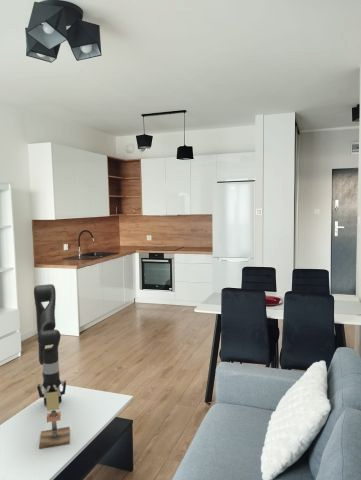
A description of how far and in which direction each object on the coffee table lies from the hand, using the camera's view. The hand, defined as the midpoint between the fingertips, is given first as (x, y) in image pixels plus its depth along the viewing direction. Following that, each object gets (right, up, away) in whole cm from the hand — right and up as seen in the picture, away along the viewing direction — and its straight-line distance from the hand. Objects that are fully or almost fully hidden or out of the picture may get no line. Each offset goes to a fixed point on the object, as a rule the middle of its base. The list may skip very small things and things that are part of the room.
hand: (53, 403), depth 202 cm
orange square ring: (0, -7, +1) cm, 7 cm away
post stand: (+1, -18, +1) cm, 18 cm away
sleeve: (0, -2, 0) cm, 2 cm away
